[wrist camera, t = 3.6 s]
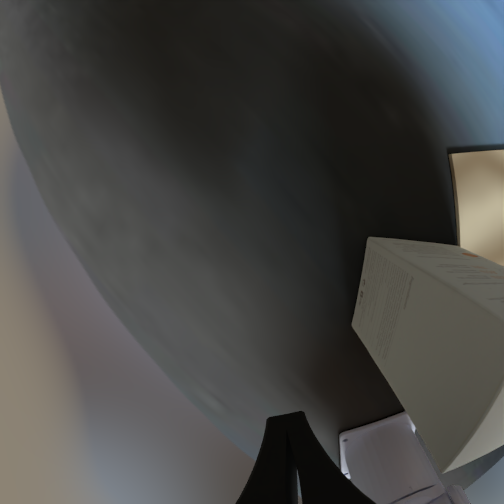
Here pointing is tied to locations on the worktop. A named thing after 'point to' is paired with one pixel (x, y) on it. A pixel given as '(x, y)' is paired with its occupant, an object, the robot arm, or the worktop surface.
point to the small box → (437, 341)
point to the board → (479, 202)
